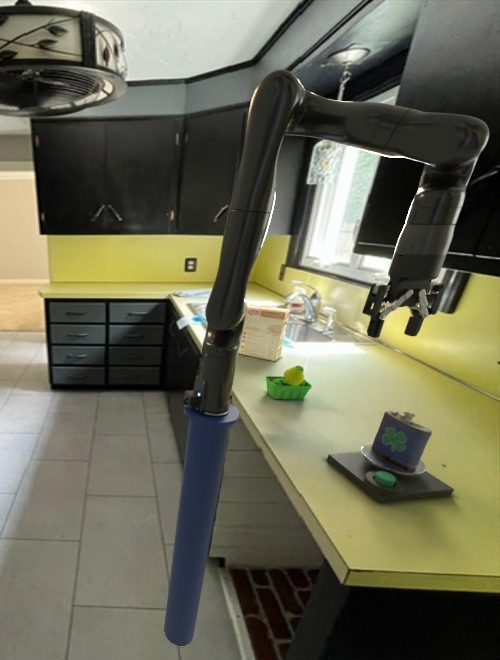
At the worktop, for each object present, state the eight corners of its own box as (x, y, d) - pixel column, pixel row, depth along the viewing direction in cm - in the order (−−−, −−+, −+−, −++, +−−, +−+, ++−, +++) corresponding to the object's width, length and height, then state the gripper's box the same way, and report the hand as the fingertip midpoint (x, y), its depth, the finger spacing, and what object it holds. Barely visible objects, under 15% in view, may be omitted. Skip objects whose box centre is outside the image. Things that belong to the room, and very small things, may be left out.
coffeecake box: (280, 357, 146) (291, 309, 139) (275, 361, 141) (285, 312, 134) (243, 349, 155) (251, 304, 148) (237, 353, 150) (245, 306, 143)
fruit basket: (297, 391, 116) (305, 357, 112) (311, 403, 108) (321, 368, 104) (261, 390, 116) (268, 357, 112) (273, 402, 108) (281, 367, 104)
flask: (419, 469, 73) (439, 423, 69) (407, 471, 72) (427, 424, 68) (377, 444, 81) (393, 402, 77) (366, 446, 80) (382, 403, 76)
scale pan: (391, 478, 71) (392, 475, 71) (348, 447, 81) (349, 445, 81) (439, 473, 73) (440, 471, 72) (391, 443, 83) (392, 441, 82)
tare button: (383, 488, 69) (386, 481, 68) (370, 478, 72) (372, 471, 71) (397, 486, 69) (400, 480, 69) (383, 476, 72) (386, 470, 72)
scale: (378, 504, 69) (383, 492, 67) (324, 460, 82) (328, 448, 80) (453, 497, 71) (459, 484, 69) (389, 454, 84) (393, 443, 83)
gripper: (433, 250, 71) (405, 330, 78) (369, 250, 69) (345, 332, 76) (475, 252, 64) (440, 340, 71) (404, 252, 63) (375, 342, 69)
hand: (391, 336), depth 73 cm, fingers open, 8 cm apart
